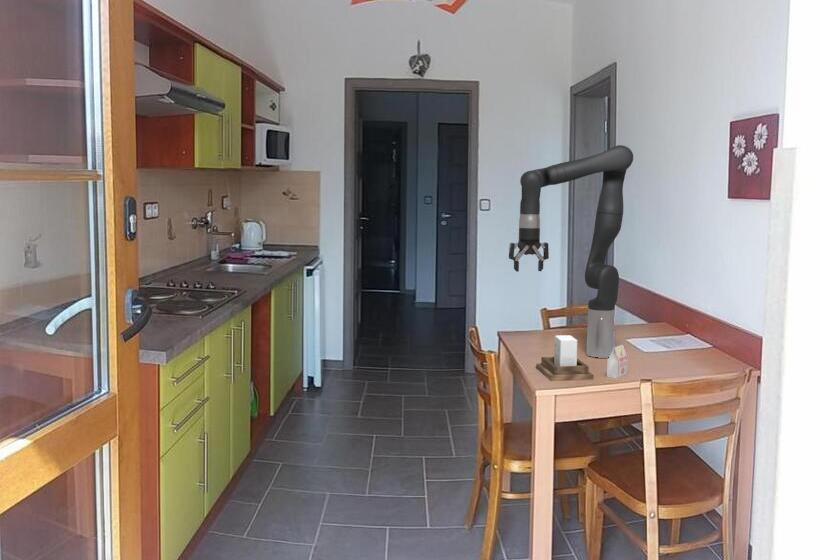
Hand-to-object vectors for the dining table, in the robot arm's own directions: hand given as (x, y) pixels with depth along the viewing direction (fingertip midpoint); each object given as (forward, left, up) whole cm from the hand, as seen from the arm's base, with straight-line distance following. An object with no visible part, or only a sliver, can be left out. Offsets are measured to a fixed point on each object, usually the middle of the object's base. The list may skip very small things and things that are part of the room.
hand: (528, 271), depth 264 cm
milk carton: (-20, +36, -30) cm, 51 cm away
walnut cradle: (-4, +31, -30) cm, 43 cm away
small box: (-4, +31, -29) cm, 43 cm away
